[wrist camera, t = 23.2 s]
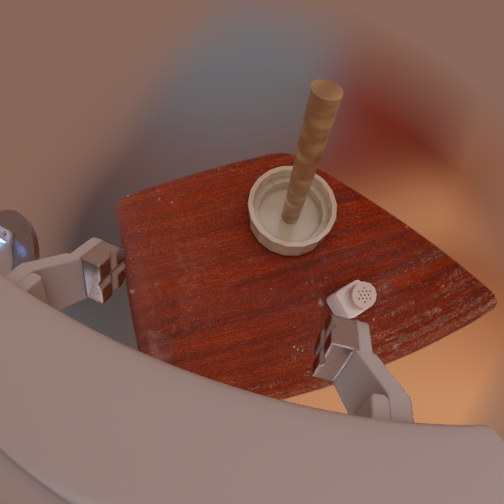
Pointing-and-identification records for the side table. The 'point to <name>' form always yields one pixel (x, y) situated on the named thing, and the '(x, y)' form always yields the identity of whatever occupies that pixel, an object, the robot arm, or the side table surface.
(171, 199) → the side table surface
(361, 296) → the salt shaker
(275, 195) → the bowl
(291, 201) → the stirring stick
